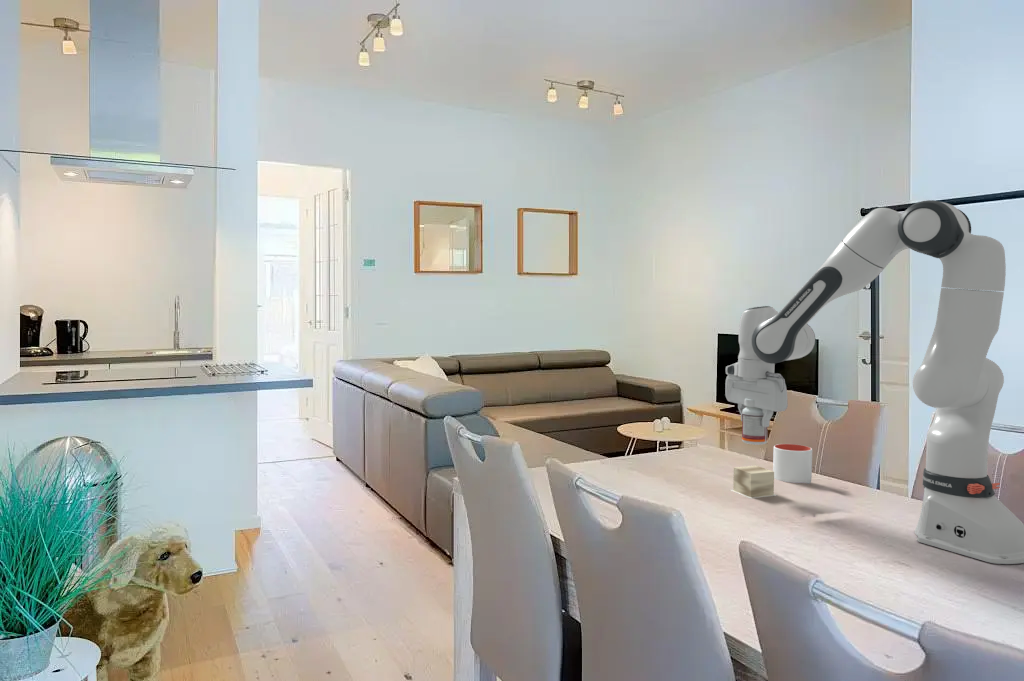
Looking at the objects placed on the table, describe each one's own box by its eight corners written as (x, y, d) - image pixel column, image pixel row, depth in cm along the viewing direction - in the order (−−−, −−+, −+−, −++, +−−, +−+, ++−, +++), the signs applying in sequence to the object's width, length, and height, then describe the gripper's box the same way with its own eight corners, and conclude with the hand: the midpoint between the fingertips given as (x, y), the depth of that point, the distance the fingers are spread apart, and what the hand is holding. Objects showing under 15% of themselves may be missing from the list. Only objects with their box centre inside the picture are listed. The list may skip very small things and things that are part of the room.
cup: (817, 487, 192) (818, 451, 192) (780, 487, 193) (781, 451, 192) (803, 478, 202) (803, 443, 202) (767, 478, 203) (768, 443, 202)
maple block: (773, 494, 180) (774, 471, 180) (750, 497, 178) (751, 473, 178) (755, 488, 187) (756, 465, 186) (733, 490, 184) (733, 467, 184)
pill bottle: (750, 439, 186) (751, 396, 185) (772, 442, 181) (772, 398, 180) (737, 442, 182) (737, 398, 181) (758, 446, 177) (759, 401, 177)
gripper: (794, 373, 172) (793, 430, 173) (741, 366, 191) (740, 417, 192) (773, 374, 170) (772, 431, 170) (721, 366, 189) (720, 418, 190)
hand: (754, 424), depth 181 cm, fingers closed on pill bottle, 6 cm apart
